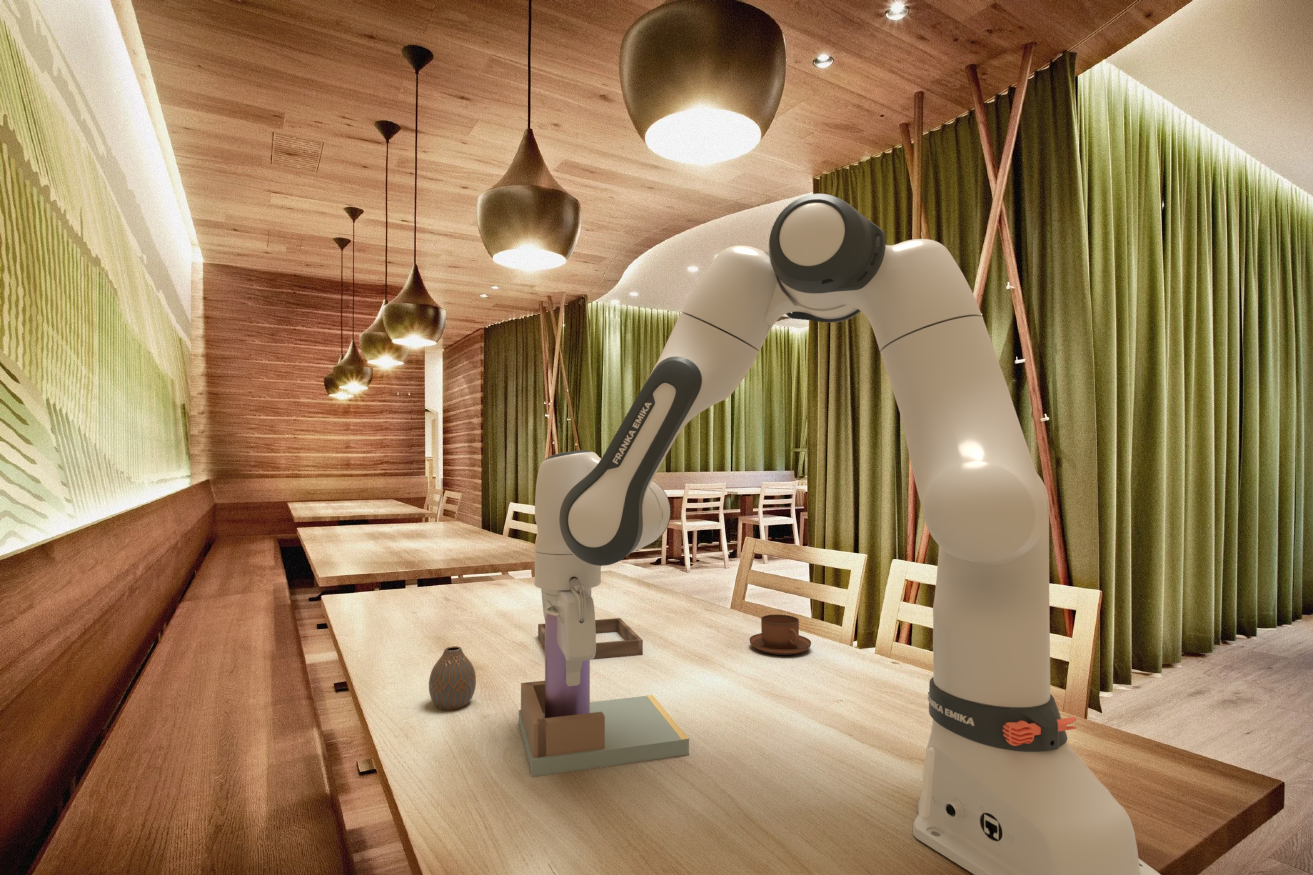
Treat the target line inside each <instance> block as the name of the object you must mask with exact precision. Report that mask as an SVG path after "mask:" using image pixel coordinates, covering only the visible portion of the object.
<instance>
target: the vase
mask: <svg viewBox="0 0 1313 875" xmlns="http://www.w3.org/2000/svg"><path fill="white" fill-rule="evenodd" d="M476 675H477V674H476V671H475V668H474V665H473V664H472V662H471V661H470V659H469V658H468V657H467V656H466V655H465V653H464V651H463V649H462V647H461V646H454V645H453V646H448V647H445V648H444V650H443V653H442V655H441V656H440V658H439V659H438V660H437V661H436V663H435V664H434V666H433V667H432V669H431V671H430V675H429V679H428V693H429V696H430V699H431V702H432V703H433V705H434V706H436V707H437V708H438V709H439V710H443V711H455V710H460V709H462V708H464V707H465V706H467V705H468V704H469V703H470V701H471V700H472V698H473V697H474V694H475V690H476V686H477V685H476V684H477V676H476Z"/></svg>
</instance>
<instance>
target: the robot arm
mask: <svg viewBox="0 0 1313 875" xmlns="http://www.w3.org/2000/svg"><path fill="white" fill-rule="evenodd" d="M860 313H863V315H865V317H866V318H867V320H868V322H869V324H870V326H871V328H872V331H873V333H874V336H875V341H876V343H877V346H878V349H879V352H880V355H881V358H882V362H883V364H884V365H883V366H884V368H885V370H886V374H887V377H888V380H889V383H890V386H891V390H892V393H893V395H894V396H893V397H894V399H895V402H896V405H897V407H898V411H899V414H900V418H901V420H902V421H901V422H902V426H903V429H904V436H905V441H906V446H907V450H908V457H909V460H910V465H911V469H912V470H911V471H912V473H913V477H914V483H915V486H916V491H917V495H918V499H919V501H920V502H919V503H920V506H921V509H922V513H923V518H924V523H925V525H926V528H927V530H928V532H929V533H930V536H931V537H932V539H933V540H934V541H935V542H936V543H937V545H938V556H937V557H938V558H937V568H936V570H937V571H936V581H935V590H934V597H933V598H934V599H933V604H932V605H933V606H932V641H933V642H932V655H933V657H932V658H933V659H932V662H933V663H932V668H933V670H932V672H933V674H932V677H931V678H930V679H929V686H928V687H929V688H928V692H927V699H928V700H927V701H928V714H929V716H930V717H931V718H932V725H931V730H930V735H929V740H928V742H927V746H926V750H925V756H924V757H925V758H924V764H923V766H924V767H923V774H922V785H921V794H920V798H919V799H918V800H919V801H918V803H917V813H918V815H917V816H916V817H915V820H913V821H914V822H913V827H912V828H913V829H912V835H913V837H914V838H916V839H917V840H918V841H920V842H922V843H923V844H925V845H927V846H928V847H930V848H931V849H933V850H934V851H936V852H937V853H939V854H940V855H943V857H946V858H947V859H949V860H950V861H952V862H954V863H956V864H957V865H959V866H960V868H961V867H962V868H963V869H965V870H967V871H968V872H970V873H971V874H973V875H1162V874H1160V872H1158V871H1156V869H1154V868H1152V867H1151V866H1150V865H1148V864H1147V863H1146V862H1145V861H1143V860H1142V859H1140V858H1139V852H1138V845H1137V839H1136V834H1135V830H1134V826H1133V823H1132V821H1131V818H1130V816H1129V814H1128V813H1127V810H1126V809H1125V808H1124V807H1123V806H1122V805H1121V804H1120V803H1119V801H1118V800H1117V799H1115V798H1116V797H1114V796H1113V795H1112V793H1111V792H1110V790H1109V789H1108V788H1107V787H1106V786H1105V785H1104V784H1103V783H1102V782H1101V781H1100V780H1099V779H1098V778H1097V776H1096V775H1095V774H1094V773H1093V772H1092V771H1091V770H1090V768H1089V767H1088V766H1087V765H1086V763H1085V762H1084V761H1083V760H1082V759H1081V757H1080V756H1079V755H1078V754H1077V753H1076V751H1075V750H1073V748H1072V747H1071V745H1069V743H1068V734H1067V732H1066V731H1069V730H1077V727H1076V726H1075V725H1074V726H1073V725H1072V726H1069V725H1071V724H1072V723H1074V722H1075V721H1077V718H1076V717H1074V716H1071V717H1066V718H1062V717H1061V713H1060V710H1059V708H1058V705H1057V702H1056V699H1055V698H1054V695H1053V694H1051V642H1050V641H1051V639H1050V638H1051V635H1050V633H1051V631H1050V618H1051V617H1050V500H1049V495H1048V490H1047V488H1046V485H1045V483H1044V481H1043V479H1042V478H1041V476H1040V475H1039V474H1038V472H1037V470H1036V467H1035V464H1034V462H1033V461H1034V460H1033V458H1032V456H1031V453H1030V449H1029V446H1028V444H1027V441H1026V439H1025V436H1024V432H1023V430H1022V427H1021V424H1020V421H1019V417H1018V415H1017V411H1016V408H1015V406H1014V402H1013V399H1012V396H1011V393H1010V390H1009V387H1008V384H1007V380H1006V379H1005V378H1006V377H1005V376H1004V373H1003V370H1002V367H1001V364H1000V361H999V359H998V356H997V354H996V350H995V348H994V344H993V342H992V339H991V337H990V334H989V331H988V328H987V326H986V323H985V320H984V317H983V315H982V312H981V309H980V307H979V305H978V302H977V300H976V297H975V295H974V293H973V291H972V289H971V287H970V285H969V283H968V281H967V279H966V277H965V275H964V273H963V272H962V270H961V268H960V267H959V265H958V263H957V261H956V260H955V259H954V256H952V254H951V252H950V251H949V250H948V248H947V246H945V245H943V244H942V243H940V242H938V241H936V240H933V239H929V238H928V239H927V238H915V239H908V240H905V241H901V242H899V243H896V244H892V245H889V244H887V240H886V233H885V232H884V230H883V229H882V228H881V227H879V226H878V225H877V224H875V223H874V222H872V221H871V220H870V219H869V218H867V217H866V216H864V214H862V213H861V212H860V211H858V209H856V208H855V207H853V206H852V205H851V204H849V203H848V202H847V201H845V200H843V199H842V198H839V197H837V196H834V195H831V194H826V193H812V194H806V195H803V196H801V197H799V198H797V199H795V200H793V201H792V202H790V203H789V204H788V205H787V206H786V207H784V209H782V210H781V212H780V213H779V215H778V216H777V217H776V219H775V221H774V223H773V225H772V228H771V229H770V235H769V240H768V250H762V249H759V248H757V247H754V246H749V245H741V244H740V245H733V246H732V245H731V246H729V247H726V248H725V249H723V250H721V251H720V252H719V253H718V254H717V256H716V257H715V258H714V259H713V261H712V263H710V264H709V265H708V268H706V270H705V271H704V273H703V274H702V276H701V277H700V279H699V280H698V282H697V284H696V285H695V287H694V288H693V290H692V292H691V294H690V295H689V298H688V299H687V300H686V303H685V304H684V306H683V308H682V311H681V313H680V314H679V316H678V318H677V320H676V323H675V324H674V326H673V328H672V330H671V333H670V335H669V337H668V339H667V341H666V343H665V346H664V347H663V350H662V351H661V354H660V356H659V357H658V360H657V362H656V363H655V365H654V367H653V369H652V371H651V373H650V374H649V377H648V379H647V380H646V382H645V383H644V385H643V386H642V388H641V390H640V391H639V393H638V394H637V396H636V398H635V399H634V401H633V403H632V405H631V407H630V408H629V410H628V412H627V414H626V415H625V417H624V418H623V421H622V422H621V424H620V426H619V427H618V429H617V431H616V433H615V435H614V436H613V438H612V440H611V441H610V443H609V445H608V446H607V448H606V450H605V452H604V454H603V455H602V457H599V455H598V454H597V453H596V452H594V451H593V450H592V451H591V450H587V449H584V450H581V449H580V450H575V451H565V452H559V453H556V454H552V455H550V456H547V457H546V458H545V459H544V460H543V461H542V462H541V463H540V465H539V468H538V471H537V475H536V476H537V477H536V483H535V484H536V485H535V496H534V498H535V499H534V500H535V501H534V520H535V523H536V524H535V525H536V527H537V538H536V542H535V545H534V586H535V587H537V588H539V589H540V590H541V601H542V611H543V612H542V613H543V617H544V620H545V617H546V614H547V608H548V607H550V606H554V608H555V609H554V611H557V612H558V613H559V615H557V644H558V646H559V647H560V649H561V651H562V653H563V655H564V656H565V659H566V669H565V681H566V684H567V685H568V686H576V685H579V684H580V671H581V667H582V663H583V661H586V660H590V661H592V659H594V657H595V653H596V643H597V635H596V628H595V620H596V612H595V610H596V609H595V604H594V599H593V596H592V588H596V587H598V586H599V585H600V584H601V582H602V580H601V577H602V575H601V574H602V572H601V571H602V567H603V566H605V567H606V566H611V565H614V564H616V563H618V562H620V561H622V560H623V559H625V558H626V557H627V556H628V555H630V554H632V553H634V552H636V551H638V550H641V549H642V548H644V547H647V546H649V545H651V544H652V543H654V542H655V541H657V540H658V539H659V538H660V537H662V536H663V534H664V533H665V532H666V530H667V529H668V527H669V525H670V521H671V516H672V515H671V514H672V510H671V509H672V508H671V503H670V500H669V497H668V495H667V493H666V491H665V490H664V489H663V488H662V487H661V486H660V485H659V484H658V483H657V482H656V481H654V480H653V479H654V478H655V476H656V474H657V473H658V471H659V470H660V467H661V465H662V464H663V462H664V460H665V458H666V456H667V454H668V453H669V451H670V450H671V448H672V446H673V445H674V442H675V440H676V439H677V438H678V435H680V433H681V431H682V430H683V429H684V428H685V426H687V424H688V423H689V422H690V421H691V420H693V418H695V417H696V416H697V415H699V414H700V413H702V412H704V411H705V410H707V409H709V408H710V407H713V406H714V405H717V404H718V403H720V402H722V401H725V400H726V399H728V398H729V397H731V395H732V394H733V393H734V391H735V390H736V389H737V388H738V387H739V385H740V384H741V383H742V381H743V380H744V379H745V377H746V376H747V374H748V373H749V371H751V370H750V369H751V368H752V366H753V365H754V363H755V361H756V359H757V357H758V355H759V354H760V351H761V349H762V348H763V345H764V343H765V341H766V339H767V337H768V335H769V334H770V332H771V330H772V329H773V327H774V325H775V324H776V322H777V321H778V320H779V319H781V318H782V317H783V316H785V315H786V316H787V317H788V318H789V319H793V320H802V321H804V320H805V321H813V322H819V323H827V324H828V323H830V324H831V323H841V322H845V321H847V320H850V319H852V318H855V317H856V316H857V315H859V314H860ZM579 621H580V622H581V623H580V622H579ZM583 621H584V622H583ZM582 622H583V623H582ZM594 660H595V659H594ZM1067 725H1068V726H1067Z"/></svg>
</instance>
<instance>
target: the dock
mask: <svg viewBox="0 0 1313 875" xmlns="http://www.w3.org/2000/svg"><path fill="white" fill-rule="evenodd" d="M518 727H519V730H520V735H521V738H522V739H521V740H522V742H523V746H524V751H525V755H526V759H527V762H528V767H529V770H530V775H531V777H532V778H534V777H543V776H549V775H556V774H561V773H571V772H576V771H583V770H591V769H597V768H605V767H612V766H619V765H624V764H625V765H626V764H633V763H640V761H641V762H646V761H647V762H648V761H655V760H663V759H668V758H674V757H675V756H676V757H681V756H688V755H690V738H689V737H688V735H686V733H685V732H684V731H683V729H682V728H681V727H680V726H679V725H678V723H677V722H676V721H675V720H674V719H673V718H672V716H671V715H670V714H669V713H668V712H667V710H666V709H665V708H664V707H663V706H662V704H661V703H660V702H659V701H658V700H657V699H656V697H655V695H653V694H647V695H643V696H635V697H634V696H633V697H624V698H623V697H622V698H616V699H614V698H613V699H606V700H599V701H598V700H597V701H590V713H586V714H578V715H569V716H561V717H552V718H545V680H537V681H528V682H521V683H520V709H518Z"/></svg>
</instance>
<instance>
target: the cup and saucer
mask: <svg viewBox="0 0 1313 875" xmlns="http://www.w3.org/2000/svg"><path fill="white" fill-rule="evenodd" d="M760 619H761V622H760V623H761V626H760V627H761V632H760V633H756V634H753V635H751V636H750V637H749V643H750V645H751V646H752V647H753V648H755V649H756V650H758V651H760V652H763V653H767V654H772V655H781V656H786V655H787V656H789V655H797V654H801V653H803V652H806V651H807V650H808V649H810V647H811V645H812V640H810V639H809V638H808V637H806V636H803V635H800V634H799V633H800V628H799V627H800V620H799V618H798V617H796V616H792V615H788V614H766V615H763V616H761V618H760Z"/></svg>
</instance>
